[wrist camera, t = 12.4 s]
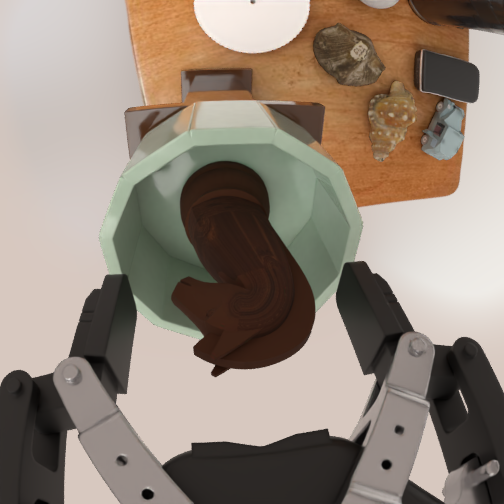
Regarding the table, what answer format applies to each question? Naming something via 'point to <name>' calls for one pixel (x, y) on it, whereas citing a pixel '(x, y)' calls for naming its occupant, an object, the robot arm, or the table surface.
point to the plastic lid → (252, 22)
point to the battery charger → (446, 76)
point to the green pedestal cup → (236, 150)
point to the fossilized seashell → (347, 56)
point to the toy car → (444, 131)
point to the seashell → (390, 119)
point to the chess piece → (241, 273)
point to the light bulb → (380, 3)
